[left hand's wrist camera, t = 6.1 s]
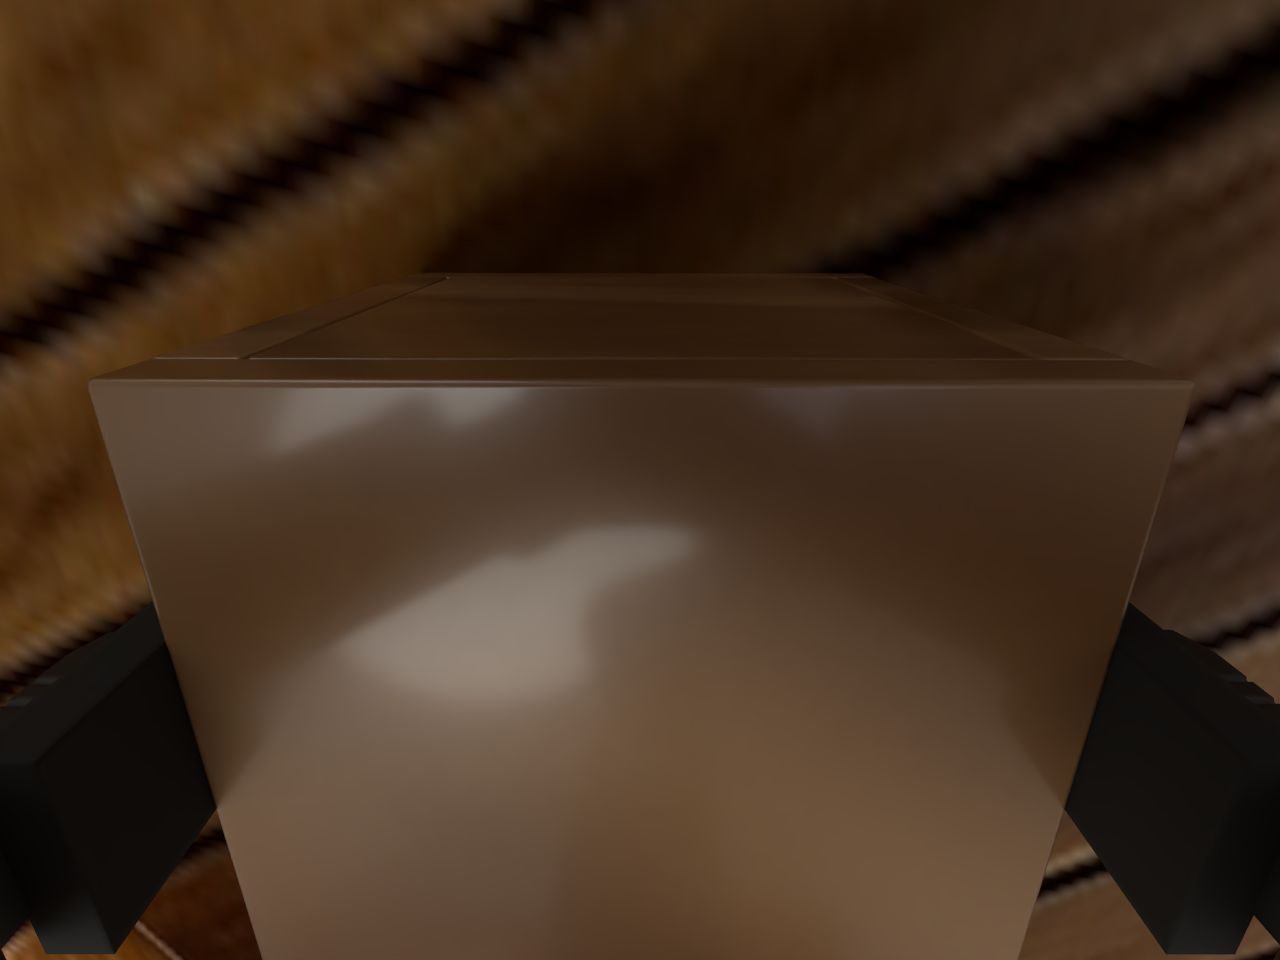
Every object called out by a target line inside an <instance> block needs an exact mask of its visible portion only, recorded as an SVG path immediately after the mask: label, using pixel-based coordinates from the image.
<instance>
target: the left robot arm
mask: <svg viewBox="0 0 1280 960" xmlns="http://www.w3.org/2000/svg"><path fill="white" fill-rule="evenodd" d="M8 702H9V703H8V705H7V706H1V707H0V960H6V958H5V956H4V954H3V952H2V950H1V949H2V947H3V946H4V945H5V944H6V943H7V942H8V940H9V939H10V938H11V937H12V936H13V935H14V933H15V932H16V931H17V930H18V929H19V928H20V926H21V925H22V924H23V923H24V922H25V921H26V919H27V918H28V917H29V919H30V921H31V923H32V926H33V928H34V930H35V932H36V934H37V936H38V938H39V940H40V942H41V944H42V946H43V949H44V951H45V953H46V954H115V953H116V951H117V950H118V948H119V947H120V946H121V944H122V943H123V941H124V940H125V938H126V937H127V936H128V934H129V933H130V931H131V930H132V928H133V927H134V926H135V924H136V923H137V921H138V920H139V918H140V917H141V916H142V914H143V913H144V911H145V910H146V908H147V907H148V906H149V904H150V903H151V901H152V900H153V898H154V897H155V896H156V894H157V893H158V891H159V890H160V888H161V887H162V886H163V884H164V883H165V881H166V880H167V878H168V877H169V876H170V874H171V873H172V871H173V870H174V868H175V867H176V866H177V864H178V863H179V861H180V860H181V858H182V857H183V856H184V854H185V853H186V851H187V850H188V848H189V847H190V846H191V844H192V843H193V841H194V840H195V838H196V837H197V836H198V834H199V833H200V831H201V830H202V829H203V827H204V826H205V824H206V823H207V821H208V820H209V819H210V817H211V816H212V814H213V813H214V811H215V810H216V805H215V802H214V799H213V796H212V792H211V789H210V786H209V783H208V779H207V776H206V773H205V770H204V766H203V763H202V760H201V756H200V753H199V750H198V747H197V743H196V740H195V737H194V734H193V730H192V727H191V724H190V721H189V717H188V714H187V711H186V707H185V704H184V701H183V698H182V694H181V691H180V688H179V685H178V681H177V678H176V675H175V672H174V668H173V665H172V662H171V658H170V655H169V652H168V649H167V645H166V642H165V639H164V636H163V632H162V629H161V626H160V623H159V619H158V616H157V613H156V609H155V606H154V603H153V601H152V602H151V603H150V604H149V605H148V606H146V607H145V608H144V609H143V610H141V611H140V612H139V613H138V614H137V615H135V616H134V617H133V618H132V619H130V620H129V621H128V622H127V623H126V624H124V625H123V626H122V627H121V628H119V629H118V630H117V631H116V632H109V633H107V634H105V635H103V636H102V637H100V638H98V639H96V640H94V641H92V642H90V643H88V644H86V645H84V646H82V647H80V648H78V649H76V650H74V651H73V652H71V653H69V654H67V655H66V656H65V657H63V658H62V659H61V660H60V661H58V662H57V663H56V664H54V665H53V666H52V667H51V668H49V669H48V670H47V671H46V672H44V673H43V674H42V675H40V676H39V677H38V678H37V679H36V682H35V684H29V685H28V686H27V687H25V688H24V689H23V690H21V691H20V692H19V693H18V694H16V695H15V696H14V697H13V698H11V699H10V700H9V701H8ZM1065 810H1066V812H1067V813H1068V815H1069V816H1070V817H1071V819H1072V820H1073V822H1074V823H1075V825H1076V826H1077V827H1078V829H1079V830H1080V832H1081V833H1082V835H1083V836H1084V837H1085V839H1086V840H1087V842H1088V843H1089V845H1090V846H1091V847H1092V849H1093V850H1094V852H1095V853H1096V855H1097V856H1098V857H1099V859H1100V860H1101V862H1102V863H1103V865H1104V866H1105V867H1106V869H1107V870H1108V872H1109V873H1110V875H1111V876H1112V877H1113V879H1114V880H1115V882H1116V883H1117V885H1118V886H1119V887H1120V889H1121V890H1122V892H1123V893H1124V895H1125V896H1126V897H1127V899H1128V900H1129V902H1130V903H1131V905H1132V906H1133V907H1134V909H1135V910H1136V912H1137V913H1138V915H1139V916H1140V917H1141V919H1142V920H1143V922H1144V923H1145V925H1146V926H1147V927H1148V929H1149V930H1150V932H1151V933H1152V935H1153V936H1154V937H1155V939H1156V940H1157V942H1158V943H1159V945H1160V946H1161V947H1162V949H1163V950H1164V952H1165V953H1166V954H1235V953H1236V951H1237V949H1238V947H1239V945H1240V943H1241V940H1242V938H1243V936H1244V934H1245V932H1246V930H1247V928H1248V926H1249V924H1250V922H1251V920H1252V917H1253V915H1254V916H1255V917H1256V918H1257V919H1258V920H1259V921H1260V923H1261V924H1262V925H1263V926H1264V927H1265V928H1266V930H1267V931H1268V932H1269V933H1270V934H1271V935H1272V936H1273V938H1274V939H1275V940H1276V941H1277V942H1278V943H1279V945H1280V704H1275V703H1274V698H1273V697H1272V696H1270V695H1269V694H1268V693H1266V692H1265V691H1264V690H1263V689H1261V688H1260V687H1259V686H1257V685H1256V684H1255V683H1254V682H1247V680H1246V676H1245V675H1243V674H1242V673H1241V672H1240V671H1238V670H1237V669H1236V668H1234V667H1233V666H1232V665H1231V664H1229V663H1228V662H1227V661H1225V660H1224V659H1223V658H1222V657H1220V656H1219V655H1218V654H1216V653H1215V652H1214V651H1212V650H1210V649H1208V648H1206V647H1204V646H1202V645H1200V644H1198V643H1196V642H1194V641H1192V640H1191V639H1189V638H1187V637H1185V636H1183V635H1181V634H1179V633H1177V632H1175V631H1173V630H1163V629H1161V628H1160V627H1159V626H1158V625H1157V624H1155V623H1154V622H1153V621H1152V620H1150V619H1149V618H1148V617H1147V616H1145V615H1144V614H1143V613H1142V612H1141V611H1139V610H1138V609H1137V608H1136V607H1134V606H1133V605H1132V604H1131V603H1130V602H1129V603H1128V606H1127V610H1126V613H1125V616H1124V619H1123V622H1122V626H1121V629H1120V632H1119V635H1118V639H1117V642H1116V645H1115V648H1114V651H1113V655H1112V658H1111V661H1110V664H1109V668H1108V671H1107V674H1106V677H1105V680H1104V684H1103V687H1102V690H1101V693H1100V697H1099V700H1098V703H1097V706H1096V709H1095V713H1094V716H1093V719H1092V722H1091V726H1090V729H1089V732H1088V735H1087V738H1086V742H1085V745H1084V748H1083V751H1082V755H1081V758H1080V761H1079V764H1078V767H1077V771H1076V774H1075V777H1074V780H1073V784H1072V787H1071V790H1070V793H1069V796H1068V800H1067V803H1066V806H1065ZM1274 960H1280V948H1279V950H1278V952H1277V954H1276V956H1275V958H1274Z"/></svg>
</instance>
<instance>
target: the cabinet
mask: <svg viewBox="0 0 1280 960" xmlns="http://www.w3.org/2000/svg"><path fill="white" fill-rule="evenodd" d="M1194 390H1195V384H1194V382H1193V381H1191V380H1189V379H1187V378H1184V377H1181V376H1178V375H1175V374H1172V373H1169V372H1165V371H1162V370H1159V369H1156V368H1153V367H1150V366H1147V365H1144V364H1141V363H1138V362H1134V361H1131V360H1126V359H1124V358H1122V357H1120V356H1117V355H1114V354H1110V353H1107V352H1104V351H1101V350H1098V349H1095V348H1092V347H1089V346H1086V345H1082V344H1079V343H1076V342H1073V341H1070V340H1067V339H1064V338H1061V337H1058V336H1054V335H1051V334H1048V333H1045V332H1042V331H1039V330H1036V329H1033V328H1030V327H1027V326H1023V325H1020V324H1017V323H1014V322H1011V321H1008V320H1005V319H1002V318H999V317H995V316H992V315H989V314H986V313H983V312H980V311H977V310H974V309H971V308H968V307H964V306H961V305H958V304H955V303H952V302H949V301H946V300H943V299H940V298H936V297H933V296H930V295H927V294H924V293H921V292H918V291H915V290H912V289H908V288H905V287H902V286H899V285H896V284H893V283H890V282H887V281H884V280H881V279H877V278H875V277H872V276H869V275H866V274H863V273H417V274H414V275H411V276H408V277H404V278H401V279H398V280H395V281H392V282H389V283H385V284H382V285H379V286H376V287H373V288H370V289H367V290H363V291H360V292H357V293H354V294H351V295H348V296H345V297H341V298H338V299H335V300H332V301H329V302H326V303H323V304H319V305H316V306H313V307H310V308H307V309H304V310H301V311H297V312H294V313H291V314H288V315H285V316H282V317H279V318H275V319H272V320H269V321H266V322H263V323H260V324H257V325H253V326H250V327H247V328H244V329H241V330H238V331H235V332H231V333H228V334H225V335H222V336H219V337H216V338H213V339H209V340H206V341H203V342H200V343H197V344H194V345H191V346H187V347H184V348H181V349H178V350H175V351H172V352H169V353H165V354H162V355H159V356H156V357H154V358H153V359H150V360H147V361H144V362H141V363H137V364H134V365H131V366H128V367H125V368H122V369H119V370H116V371H113V372H109V373H106V374H103V375H100V376H97V377H95V378H92V379H90V380H89V381H88V391H89V394H90V397H91V400H92V404H93V407H94V410H95V414H96V417H97V420H98V423H99V427H100V430H101V433H102V436H103V440H104V443H105V446H106V449H107V453H108V456H109V459H110V463H111V466H112V469H113V472H114V476H115V479H116V482H117V485H118V489H119V492H120V495H121V498H122V502H123V505H124V508H125V512H126V515H127V518H128V521H129V525H130V528H131V531H132V534H133V538H134V541H135V544H136V547H137V551H138V554H139V557H140V561H141V564H142V567H143V570H144V574H145V577H146V580H147V583H148V587H149V590H150V593H151V596H152V600H153V603H154V606H155V609H156V613H157V616H158V619H159V623H160V626H161V629H162V632H163V636H164V639H165V642H166V645H167V649H168V652H169V655H170V658H171V662H172V665H173V668H174V672H175V675H176V678H177V681H178V685H179V688H180V691H181V694H182V698H183V701H184V704H185V707H186V711H187V714H188V717H189V721H190V724H191V727H192V730H193V734H194V737H195V740H196V743H197V747H198V750H199V753H200V756H201V760H202V763H203V766H204V770H205V773H206V776H207V779H208V783H209V786H210V789H211V792H212V796H213V799H214V802H215V805H216V809H217V812H218V815H219V819H220V822H221V825H222V828H223V832H224V835H225V838H226V841H227V845H228V848H229V851H230V854H231V858H232V861H233V864H234V868H235V871H236V874H237V877H238V881H239V884H240V887H241V890H242V894H243V897H244V900H245V903H246V907H247V910H248V913H249V917H250V920H251V923H252V926H253V930H254V933H255V936H256V939H257V943H258V946H259V949H260V952H261V956H262V959H263V960H1018V958H1019V954H1020V951H1021V948H1022V945H1023V942H1024V938H1025V935H1026V932H1027V929H1028V925H1029V922H1030V919H1031V916H1032V913H1033V909H1034V906H1035V903H1036V900H1037V896H1038V893H1039V890H1040V887H1041V884H1042V880H1043V877H1044V874H1045V871H1046V867H1047V864H1048V861H1049V858H1050V855H1051V851H1052V848H1053V845H1054V842H1055V838H1056V835H1057V832H1058V829H1059V826H1060V822H1061V819H1062V816H1063V813H1064V809H1065V806H1066V803H1067V800H1068V796H1069V793H1070V790H1071V787H1072V784H1073V780H1074V777H1075V774H1076V771H1077V767H1078V764H1079V761H1080V758H1081V755H1082V751H1083V748H1084V745H1085V742H1086V738H1087V735H1088V732H1089V729H1090V726H1091V722H1092V719H1093V716H1094V713H1095V709H1096V706H1097V703H1098V700H1099V697H1100V693H1101V690H1102V687H1103V684H1104V680H1105V677H1106V674H1107V671H1108V668H1109V664H1110V661H1111V658H1112V655H1113V651H1114V648H1115V645H1116V642H1117V639H1118V635H1119V632H1120V629H1121V626H1122V622H1123V619H1124V616H1125V613H1126V610H1127V606H1128V603H1129V600H1130V597H1131V593H1132V590H1133V587H1134V584H1135V580H1136V577H1137V574H1138V571H1139V568H1140V564H1141V561H1142V558H1143V555H1144V551H1145V548H1146V545H1147V542H1148V539H1149V535H1150V532H1151V529H1152V526H1153V522H1154V519H1155V516H1156V513H1157V510H1158V506H1159V503H1160V500H1161V497H1162V493H1163V490H1164V487H1165V484H1166V481H1167V477H1168V474H1169V471H1170V468H1171V464H1172V461H1173V458H1174V455H1175V452H1176V448H1177V445H1178V442H1179V439H1180V435H1181V432H1182V429H1183V426H1184V423H1185V419H1186V416H1187V413H1188V410H1189V406H1190V403H1191V400H1192V397H1193V394H1194Z"/></svg>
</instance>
